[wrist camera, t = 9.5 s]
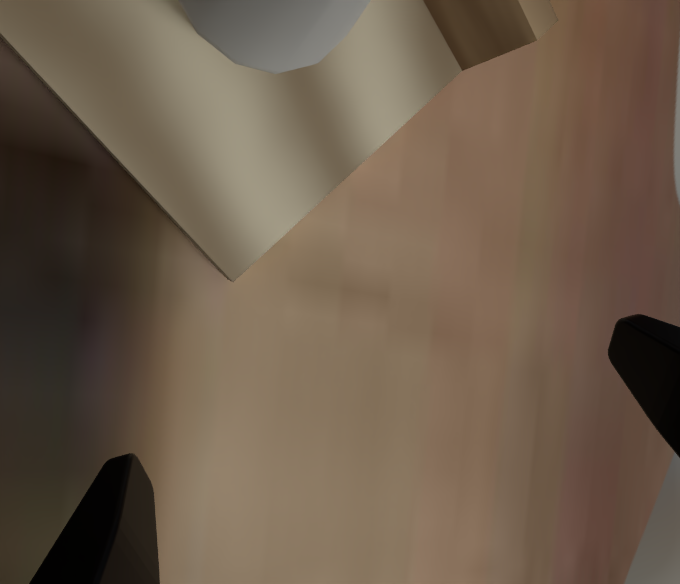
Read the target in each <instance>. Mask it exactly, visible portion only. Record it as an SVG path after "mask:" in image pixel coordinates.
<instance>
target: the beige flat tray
mask: <svg viewBox="0 0 680 584" xmlns="http://www.w3.org/2000/svg"><path fill="white" fill-rule="evenodd" d="M557 21H558V18H557V16H556V14H555V12H554V9H553V7H552V5H551V3H550V0H371V1H370V2H369V4H368V5H367V7H366V8H365V9H364V11H363V12H362V14H361V15H360V17H359V18H358V20H357V21H356V23H355V24H354V26H353V27H352V28H351V30H350V31H349V33H348V34H347V36H346V37H345V38H344V39H343V40H342V41H341V42H340V43H339V44H338V45H337V46H335V47H334V48H333V49H332V50H331V51H330V52H329V53H328V54H327V55H326V56H325V57H324V58H323V59H322V60H321V61H320V62H319V63H317V64H314V65H310V66H306V67H302V68H298V69H294V70H290V71H286V72H282V73H278V74H273V73H269V72H265V71H261V70H257V69H253V68H250V67H246V66H242V65H238V64H235V63H234V62H232V61H231V60H230V59H228V58H227V57H226V56H225V55H223V54H222V53H221V52H220V51H218V50H217V49H216V48H215V47H213V46H212V45H211V44H210V43H208V42H207V41H206V40H205V39H203V38H202V37H201V36H200V35H198V34H197V32H196V31H195V29H194V27H193V25H192V24H191V22H190V20H189V18H188V17H187V15H186V13H185V11H184V10H183V8H182V6H181V4H180V3H179V1H178V0H0V37H1V38H2V39H3V40H4V41H5V42H6V43H7V44H8V45H9V46H10V48H11V49H12V50H13V51H14V52H15V53H16V54H17V55H18V56H19V57H20V58H21V59H22V60H23V61H24V62H25V64H26V65H27V66H28V67H29V68H30V69H31V70H32V71H33V72H34V73H35V74H36V75H37V76H38V77H39V79H40V80H41V81H42V82H43V83H44V84H45V85H46V86H47V87H48V88H49V89H50V90H51V91H52V92H53V93H54V95H55V96H56V97H57V98H58V99H59V100H60V101H61V102H62V103H63V104H64V105H65V106H66V107H67V108H68V109H69V111H70V112H71V113H72V114H73V115H74V116H75V117H76V118H77V119H78V120H79V121H80V122H81V123H82V124H83V125H84V127H85V128H86V129H87V130H88V131H89V132H90V133H91V134H92V135H93V136H94V137H95V138H96V139H97V140H98V141H99V143H100V144H101V145H102V146H103V147H104V148H105V149H106V150H107V151H108V152H109V153H110V154H111V155H112V156H113V157H114V159H115V160H116V161H117V162H118V163H119V164H120V165H121V166H122V167H123V168H124V169H125V170H126V171H127V172H128V173H129V175H130V176H131V177H132V178H133V179H134V180H135V181H136V182H137V183H138V184H139V185H140V186H141V187H142V188H143V190H144V191H145V192H146V193H147V194H148V195H149V196H150V197H151V198H152V199H153V200H154V201H155V202H156V203H157V204H158V206H159V207H160V208H161V209H162V210H163V211H164V212H165V213H166V214H167V215H168V216H169V217H170V218H171V219H172V220H173V222H174V223H175V224H176V225H177V226H178V227H179V228H180V229H181V230H182V231H183V232H184V233H185V234H186V235H187V236H188V238H189V239H190V240H191V241H192V242H193V243H194V244H195V245H196V246H197V247H198V248H199V249H200V250H201V251H202V252H203V254H204V255H205V256H206V257H207V258H208V259H209V260H210V261H211V262H212V263H213V264H214V265H215V266H216V267H217V268H218V270H219V271H220V272H221V273H222V274H223V275H224V276H225V277H226V278H227V279H228V280H230V281H232V282H234V281H235V280H236V279H237V278H238V277H239V276H240V275H242V274H243V273H244V272H245V271H246V270H247V269H248V268H249V267H250V266H251V265H252V264H253V263H255V262H256V261H257V260H258V259H259V258H260V257H261V256H262V255H263V254H264V253H265V252H266V251H268V250H269V249H270V248H271V247H272V246H273V245H274V244H275V243H276V242H277V241H278V240H279V239H281V238H282V237H283V236H284V235H285V234H286V233H287V232H288V231H289V230H290V229H291V228H292V227H294V226H295V225H296V224H297V223H298V222H299V221H300V220H301V219H302V218H303V217H304V216H305V215H307V214H308V213H309V212H310V211H311V210H312V209H313V208H314V207H315V206H316V205H317V204H318V203H320V202H321V201H322V200H323V199H324V198H325V197H326V196H327V195H328V194H329V193H330V192H331V191H333V190H334V189H335V188H336V187H337V186H338V185H339V184H340V183H341V182H342V181H343V180H344V179H346V178H347V177H348V176H349V175H350V174H351V173H352V172H353V171H354V170H355V169H356V168H357V167H358V166H360V165H361V164H362V163H363V162H364V161H365V160H366V159H367V158H368V157H369V156H370V155H371V154H373V153H374V152H375V151H376V150H377V149H378V148H379V147H380V146H381V145H382V144H383V143H384V142H386V141H387V140H388V139H389V138H390V137H391V136H392V135H393V134H394V133H395V132H396V131H397V130H399V129H400V128H401V127H402V126H403V125H404V124H405V123H406V122H407V121H408V120H409V119H410V118H412V117H413V116H414V115H415V114H416V113H417V112H418V111H419V110H420V109H421V108H422V107H423V106H425V105H426V104H427V103H428V102H429V101H430V100H431V99H432V98H433V97H434V96H435V95H436V94H438V93H439V92H440V91H441V90H442V89H443V88H444V87H445V86H446V85H447V84H448V83H449V82H451V81H452V80H453V79H454V78H455V77H456V76H457V75H458V74H459V73H460V72H461V71H463V70H465V69H468V68H470V67H473V66H475V65H478V64H480V63H483V62H485V61H488V60H490V59H492V58H495V57H497V56H500V55H502V54H505V53H507V52H510V51H512V50H515V49H517V48H520V47H522V46H525V45H527V44H530V43H532V42H535V41H537V40H538V39H539V38H540V37H541V36H542V35H543V34H544V33H546V32H547V31H548V30H549V29H550V28H551V27H552V26H553V25H554V24H555V23H556V22H557Z"/></svg>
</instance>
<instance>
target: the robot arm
mask: <svg viewBox="0 0 680 584" xmlns="http://www.w3.org/2000/svg"><path fill="white" fill-rule="evenodd" d="M608 356H609V359H610V362H611V363H612V365H613V366H614V368H615V369H616V371H617V372H618V374H619V375H620V377H621V378H622V380H623V381H624V383H625V384H626V386H627V387H628V389H629V390H630V391H631V393H632V394H633V396H634V397H635V399H636V400H637V402H638V403H639V405H640V406H641V408H642V409H643V411H644V412H645V414H646V415H647V417H648V418H649V419H650V421H651V422H652V424H653V425H654V426H655V428H656V429H657V430H658V432H659V433H660V434H661V435H662V437H663V438H664V439H665V441H666V442H667V443H668V444H669V445H670V447H671V448H672V449H673V450H674V451H675V453H676V454H677V455H678V456H679V457H680V327H678V326H675V325H672V324H669V323H666V322H663V321H660V320H657V319H654V318H651V317H648V316H645V315H642V314H636V315H632V316H628V317H624V318H621V319H619V320H618V321H617V322H616V325H615V328H614V331H613V334H612V338H611V341H610V345H609V348H608ZM29 584H160V578H159V561H158V547H157V532H156V517H155V502H154V492H153V487H152V484H151V481H150V479H149V477H148V475H147V474H146V472H145V470H144V468H143V466H142V464H141V463H140V461H139V459H138V457H137V456H136V455H135V454H133V453H131V454H130V453H129V454H126V455H122V456H118V457H115V458H111V459H109V460H108V461H107V462H106V463H105V464H104V465H103V467H102V468H101V470H100V472H99V473H98V475H97V476H96V478H95V480H94V481H93V483H92V484H91V486H90V488H89V489H88V491H87V492H86V494H85V496H84V497H83V499H82V500H81V502H80V504H79V505H78V507H77V508H76V510H75V512H74V513H73V515H72V516H71V518H70V519H69V521H68V523H67V524H66V526H65V527H64V529H63V531H62V532H61V534H60V535H59V537H58V539H57V540H56V542H55V543H54V545H53V547H52V548H51V550H50V551H49V553H48V555H47V556H46V558H45V559H44V561H43V563H42V564H41V566H40V567H39V569H38V571H37V572H36V574H35V575H34V577H33V578H32V580H31V582H30V583H29Z"/></svg>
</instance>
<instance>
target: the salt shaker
mask: <svg viewBox="0 0 680 584" xmlns="http://www.w3.org/2000/svg"><path fill="white" fill-rule="evenodd" d="M178 1H179V3H180V4H181V6H182V8H183V10H184V11H185V13H186V15H187V17H188V18H189V20H190V22H191V24H192V25H193V27H194V29H195V31H196V32H197V34H198V35H200V36H201V37H202V38H203V39H205V40H206V41H207V42H208V43H210V44H211V45H212V46H213V47H215V48H216V49H217V50H218V51H220V52H221V53H222V54H223V55H225V56H226V57H227V58H228V59H230V60H231V61H232V62H234V63H235V64H238V65H242V66H246V67H250V68H253V69H257V70H261V71H265V72H269V73H273V74H278V73H282V72H286V71H290V70H294V69H298V68H302V67H306V66H310V65H314V64H317V63H319V62H320V61H321V60H322V59H323V58H324V57H325V56H326V55H327V54H328V53H329V52H330V51H331V50H332V49H333V48H334V47H335V46H337V45H338V44H339V43H340V42H341V41H342V40H343V39H344V38H345V37H346V36H347V34H348V33H349V31H350V30H351V28H352V27H353V26H354V24H355V23H356V21H357V20H358V18H359V17H360V15H361V14H362V12H363V11H364V9H365V8H366V7H367V5H368V4H369V2H370V1H371V0H178Z"/></svg>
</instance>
